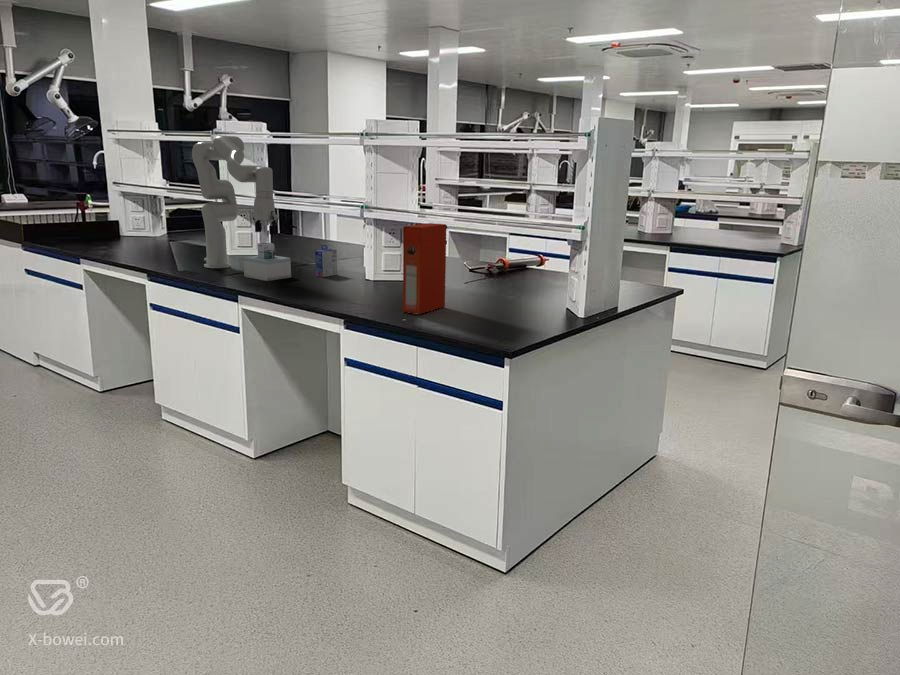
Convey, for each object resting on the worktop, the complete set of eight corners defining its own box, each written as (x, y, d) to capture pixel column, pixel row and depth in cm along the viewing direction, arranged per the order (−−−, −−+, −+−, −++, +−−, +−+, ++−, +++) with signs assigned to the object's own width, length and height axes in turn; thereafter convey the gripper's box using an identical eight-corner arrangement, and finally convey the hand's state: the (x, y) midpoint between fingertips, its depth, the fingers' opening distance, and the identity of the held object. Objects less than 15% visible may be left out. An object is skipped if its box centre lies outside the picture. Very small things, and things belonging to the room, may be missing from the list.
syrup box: (264, 275, 313) (262, 244, 309) (258, 273, 317) (257, 242, 314) (275, 274, 317) (274, 243, 313) (269, 272, 321) (268, 242, 317)
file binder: (402, 312, 254) (403, 226, 246) (427, 304, 269) (429, 222, 260) (420, 315, 250) (422, 227, 242) (444, 307, 265) (447, 224, 256)
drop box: (244, 276, 316) (243, 257, 314) (268, 273, 327) (267, 254, 325) (267, 281, 307) (266, 261, 305) (291, 277, 318) (290, 258, 316)
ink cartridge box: (329, 273, 331) (329, 243, 327) (338, 274, 328) (337, 244, 324) (314, 276, 323) (314, 245, 320) (323, 277, 320) (322, 246, 317)
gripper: (245, 193, 309) (246, 231, 314) (270, 197, 300) (271, 236, 305) (258, 193, 315) (259, 230, 320) (283, 196, 306) (284, 234, 310)
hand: (265, 233), depth 312 cm, fingers open, 9 cm apart
